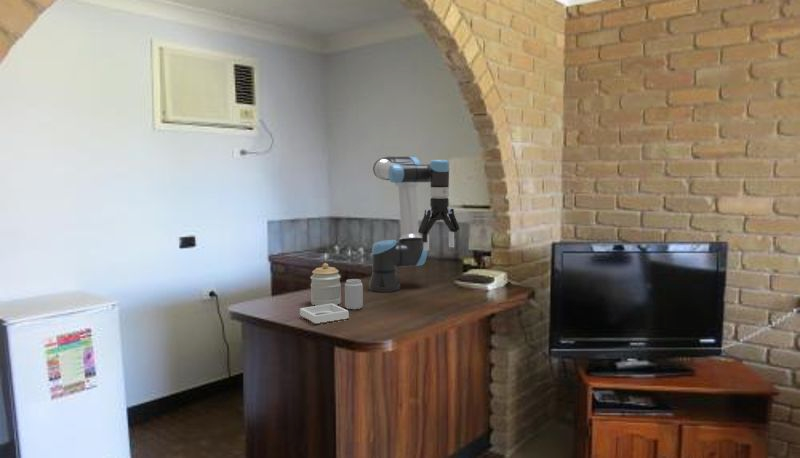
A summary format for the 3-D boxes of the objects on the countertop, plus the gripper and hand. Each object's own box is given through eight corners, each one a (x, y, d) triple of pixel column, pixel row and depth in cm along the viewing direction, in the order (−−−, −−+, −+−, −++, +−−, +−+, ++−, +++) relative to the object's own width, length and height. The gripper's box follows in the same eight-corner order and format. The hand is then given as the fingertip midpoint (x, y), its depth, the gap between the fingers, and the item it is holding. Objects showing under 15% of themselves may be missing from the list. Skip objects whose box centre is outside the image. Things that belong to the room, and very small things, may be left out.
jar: (346, 301, 238) (345, 261, 236) (333, 308, 226) (332, 266, 224) (319, 299, 242) (318, 260, 240) (305, 306, 230) (304, 264, 228)
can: (360, 311, 221) (359, 282, 220) (342, 310, 223) (342, 281, 222) (365, 306, 229) (364, 278, 227) (347, 305, 230) (347, 277, 229)
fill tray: (300, 317, 213) (299, 308, 212) (332, 311, 220) (332, 303, 220) (315, 325, 201) (315, 316, 201) (348, 319, 209) (348, 310, 208)
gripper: (421, 199, 213) (421, 252, 215) (468, 196, 227) (467, 246, 230) (409, 198, 219) (409, 250, 221) (456, 196, 233) (455, 244, 236)
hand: (439, 248), depth 226 cm, fingers open, 13 cm apart
